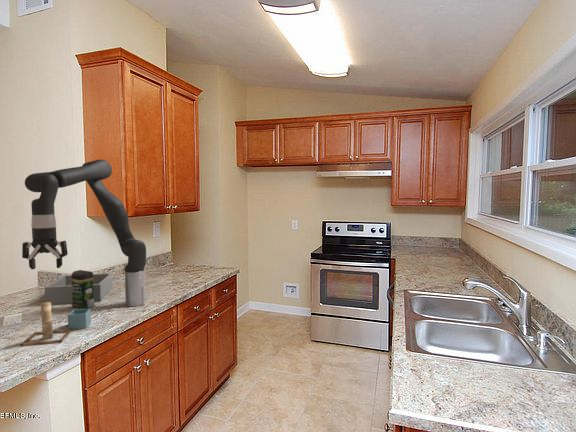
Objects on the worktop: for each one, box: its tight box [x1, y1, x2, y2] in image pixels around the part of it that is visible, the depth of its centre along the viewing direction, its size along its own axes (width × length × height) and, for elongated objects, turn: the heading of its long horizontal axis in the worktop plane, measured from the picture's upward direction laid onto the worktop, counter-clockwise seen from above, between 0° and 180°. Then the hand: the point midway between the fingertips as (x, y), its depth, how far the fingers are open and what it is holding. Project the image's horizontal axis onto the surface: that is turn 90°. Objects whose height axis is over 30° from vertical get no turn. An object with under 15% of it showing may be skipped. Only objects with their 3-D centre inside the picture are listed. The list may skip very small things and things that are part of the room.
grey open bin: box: [44, 273, 114, 306], centre depth 188 cm, size 25×25×9 cm
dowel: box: [40, 302, 54, 341], centre depth 132 cm, size 3×3×14 cm
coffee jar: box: [71, 269, 95, 310], centre depth 169 cm, size 10×8×19 cm
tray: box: [20, 328, 73, 347], centre depth 132 cm, size 13×11×2 cm
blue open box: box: [67, 307, 92, 331], centre depth 144 cm, size 7×7×7 cm
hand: (46, 268), depth 131 cm, fingers open, 8 cm apart
